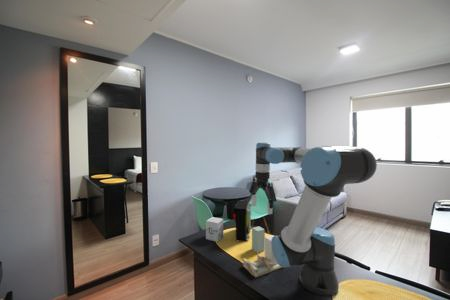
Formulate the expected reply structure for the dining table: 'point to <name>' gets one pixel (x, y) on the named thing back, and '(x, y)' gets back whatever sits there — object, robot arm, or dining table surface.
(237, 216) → the electrical component
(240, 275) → the dining table surface
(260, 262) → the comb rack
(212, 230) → the ink box
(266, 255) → the white tall block
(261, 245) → the sage plug
